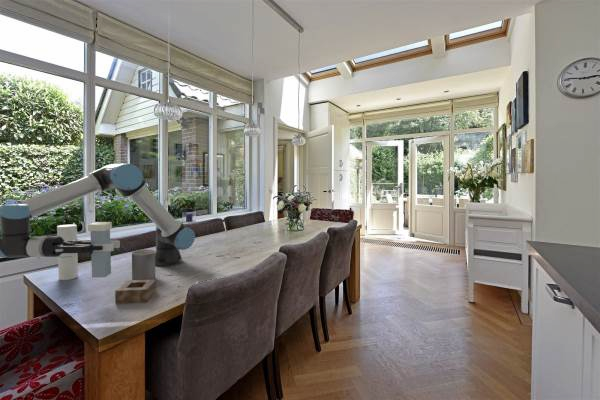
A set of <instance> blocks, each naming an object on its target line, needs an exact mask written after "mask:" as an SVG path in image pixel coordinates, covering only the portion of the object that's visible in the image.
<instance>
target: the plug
mask: <svg viewBox="0 0 600 400" xmlns="http://www.w3.org/2000/svg"><path fill="white" fill-rule="evenodd" d="M112 223H113V222H112V221H94V222H92V223H89V224H87V231H88V232H90V240H91V245H93V244H110V241H111V229H112V228H113V225H112ZM111 252H112V251H94V250H93V253H92V254H91V255H90V257H91V262H90V263H91V278H107V277H108V276H109V275H110V274H112V260H111V259H112V258H111V257H112V255H111Z"/></svg>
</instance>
